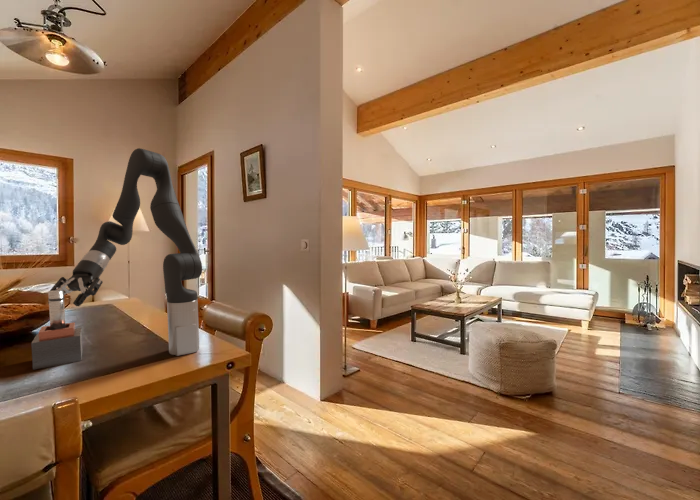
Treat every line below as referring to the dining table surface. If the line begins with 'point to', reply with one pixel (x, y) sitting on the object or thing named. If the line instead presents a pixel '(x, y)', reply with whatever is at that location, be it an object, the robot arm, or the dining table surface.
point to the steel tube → (56, 309)
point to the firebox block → (57, 346)
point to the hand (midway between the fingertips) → (63, 305)
